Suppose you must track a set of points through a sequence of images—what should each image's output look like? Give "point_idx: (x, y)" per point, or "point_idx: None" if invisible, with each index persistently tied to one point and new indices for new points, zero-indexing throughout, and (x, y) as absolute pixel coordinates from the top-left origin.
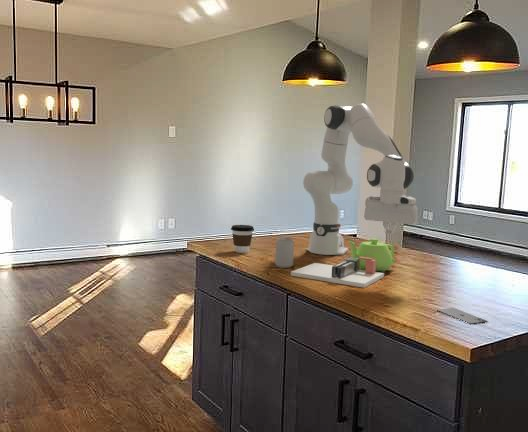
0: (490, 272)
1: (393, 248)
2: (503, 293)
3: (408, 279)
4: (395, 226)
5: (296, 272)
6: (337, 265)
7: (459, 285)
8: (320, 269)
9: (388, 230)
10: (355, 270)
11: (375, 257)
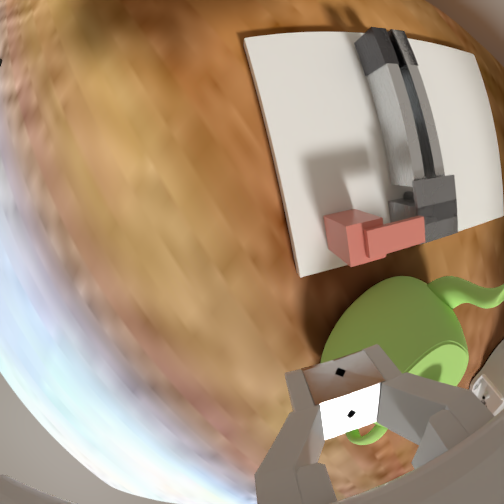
0: (151, 486)
1: (351, 437)
2: (4, 350)
3: (208, 314)
4: (266, 470)
5: (464, 52)
6: (410, 61)
7: (76, 359)
8: (465, 135)
9: (353, 382)
10: (394, 200)
11: (379, 321)
